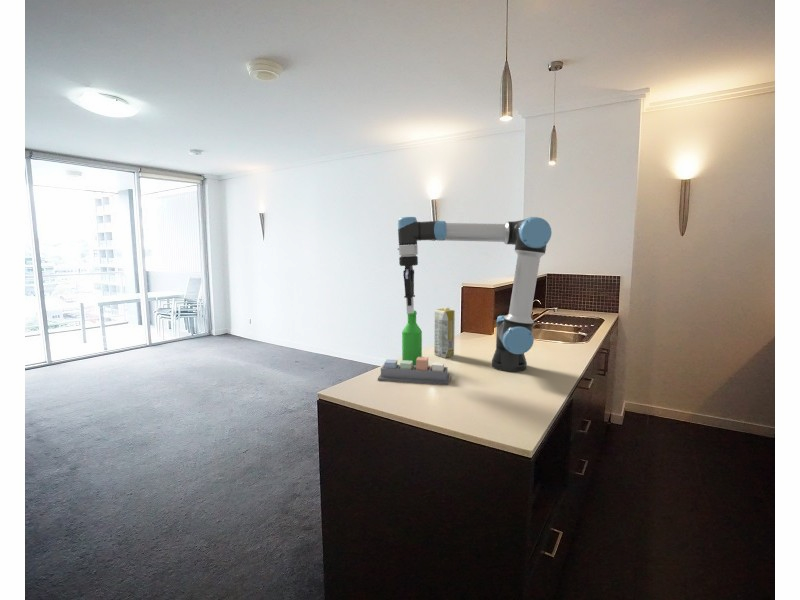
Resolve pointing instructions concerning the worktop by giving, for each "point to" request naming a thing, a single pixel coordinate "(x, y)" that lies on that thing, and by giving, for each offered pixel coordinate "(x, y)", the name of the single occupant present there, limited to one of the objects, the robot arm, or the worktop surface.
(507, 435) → the worktop surface
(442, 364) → the key cream
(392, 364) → the key slate
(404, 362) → the key sage
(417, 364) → the key terracotta
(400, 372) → the keypad
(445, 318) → the juice carton
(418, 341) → the bottle
